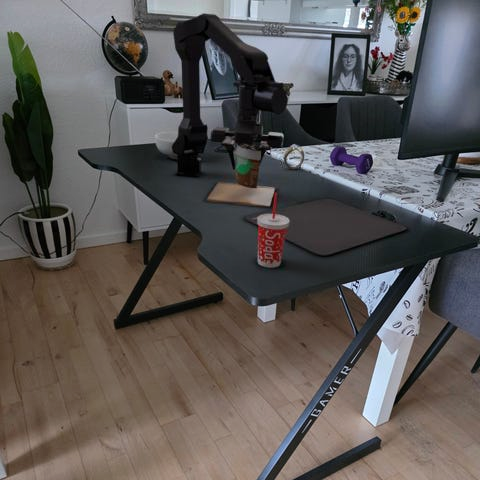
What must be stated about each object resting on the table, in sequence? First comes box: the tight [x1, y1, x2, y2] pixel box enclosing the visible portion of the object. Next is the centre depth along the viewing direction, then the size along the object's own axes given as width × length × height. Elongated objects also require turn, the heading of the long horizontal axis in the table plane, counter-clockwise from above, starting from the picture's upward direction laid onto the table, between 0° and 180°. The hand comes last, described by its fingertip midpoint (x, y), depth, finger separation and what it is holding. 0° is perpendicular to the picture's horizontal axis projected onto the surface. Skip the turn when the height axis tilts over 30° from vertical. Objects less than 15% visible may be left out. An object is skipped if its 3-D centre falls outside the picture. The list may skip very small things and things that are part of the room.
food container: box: [234, 142, 261, 188], centre depth 121 cm, size 12×6×10 cm, turn 8°
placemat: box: [206, 181, 276, 209], centre depth 126 cm, size 17×17×1 cm
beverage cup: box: [257, 192, 290, 269], centre depth 86 cm, size 6×6×14 cm
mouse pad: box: [244, 198, 407, 257], centre depth 110 cm, size 32×27×1 cm
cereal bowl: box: [154, 130, 178, 160], centre depth 156 cm, size 17×17×7 cm
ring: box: [283, 143, 305, 170], centre depth 151 cm, size 7×3×8 cm, turn 100°
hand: (245, 170), depth 122 cm, fingers closed on food container, 6 cm apart
